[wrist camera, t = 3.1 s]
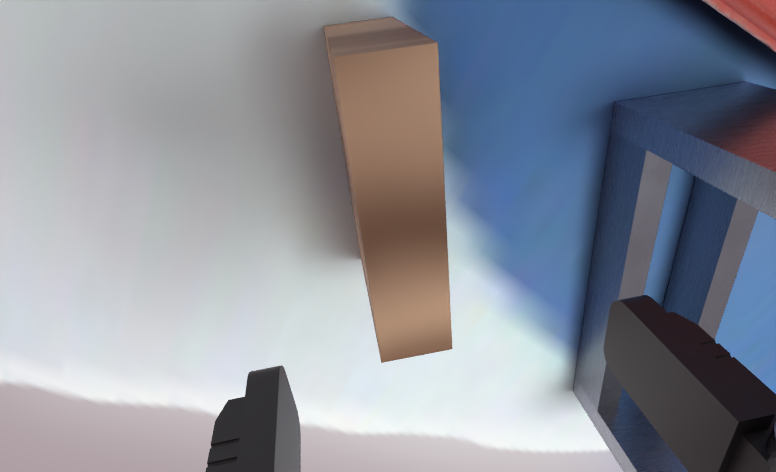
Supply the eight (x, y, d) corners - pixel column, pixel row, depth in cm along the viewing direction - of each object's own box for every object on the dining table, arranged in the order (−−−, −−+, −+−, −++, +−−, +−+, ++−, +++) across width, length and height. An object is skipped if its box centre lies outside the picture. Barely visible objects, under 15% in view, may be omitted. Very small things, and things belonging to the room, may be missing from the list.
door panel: (323, 25, 20) (333, 57, 13) (392, 16, 20) (437, 42, 13) (361, 258, 26) (381, 362, 19) (413, 249, 26) (452, 348, 19)
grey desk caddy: (614, 102, 24) (791, 178, 15) (745, 81, 24) (987, 144, 16) (572, 391, 35) (661, 531, 26) (663, 372, 35) (779, 503, 27)
